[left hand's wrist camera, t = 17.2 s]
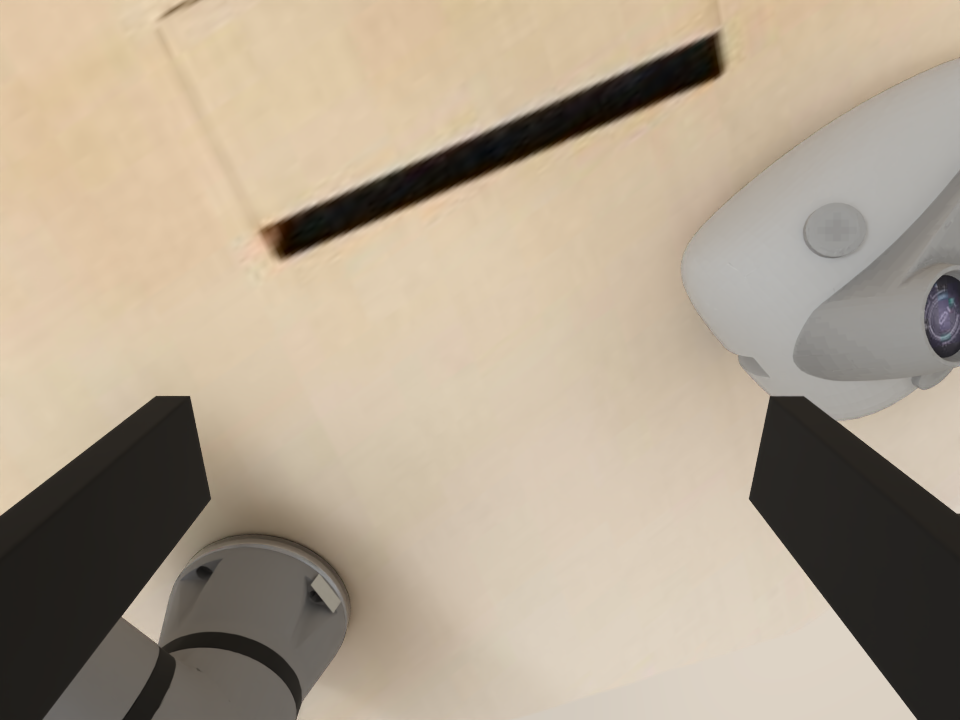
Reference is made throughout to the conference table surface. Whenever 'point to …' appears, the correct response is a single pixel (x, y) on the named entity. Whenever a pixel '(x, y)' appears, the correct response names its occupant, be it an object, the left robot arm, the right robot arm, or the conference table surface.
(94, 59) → the conference table surface
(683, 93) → the conference table surface
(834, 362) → the projector
